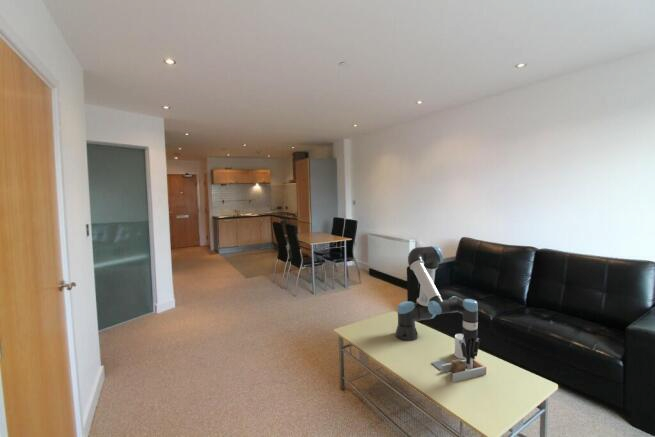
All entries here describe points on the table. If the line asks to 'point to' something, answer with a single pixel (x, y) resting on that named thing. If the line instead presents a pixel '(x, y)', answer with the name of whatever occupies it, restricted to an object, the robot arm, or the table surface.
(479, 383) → the table surface
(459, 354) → the mug
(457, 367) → the block
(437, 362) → the coaster
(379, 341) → the table surface
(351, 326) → the table surface
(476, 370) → the channel
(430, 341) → the table surface
